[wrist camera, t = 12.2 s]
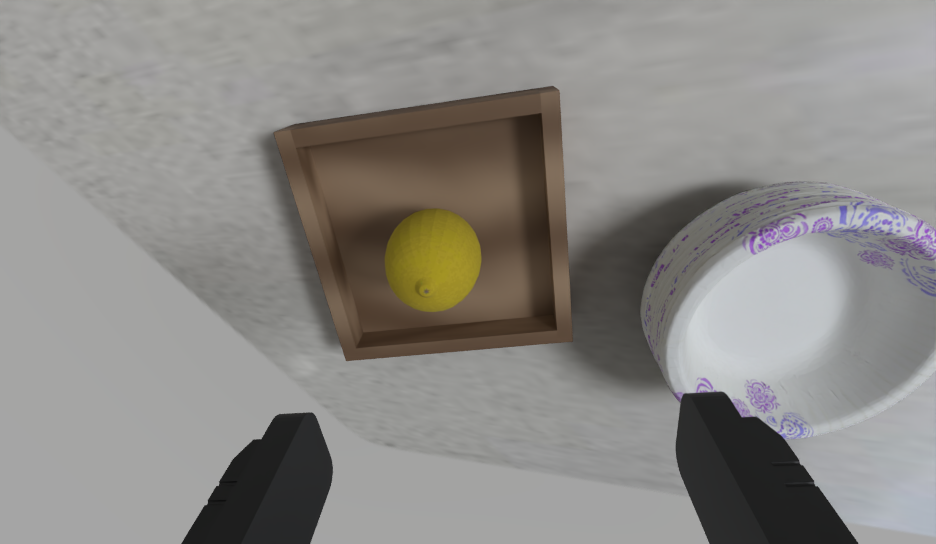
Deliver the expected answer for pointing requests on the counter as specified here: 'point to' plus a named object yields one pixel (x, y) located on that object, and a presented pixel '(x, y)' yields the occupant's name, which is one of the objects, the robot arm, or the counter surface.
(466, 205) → the walnut tray
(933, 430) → the counter surface
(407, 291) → the lemon
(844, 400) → the paper bowls
